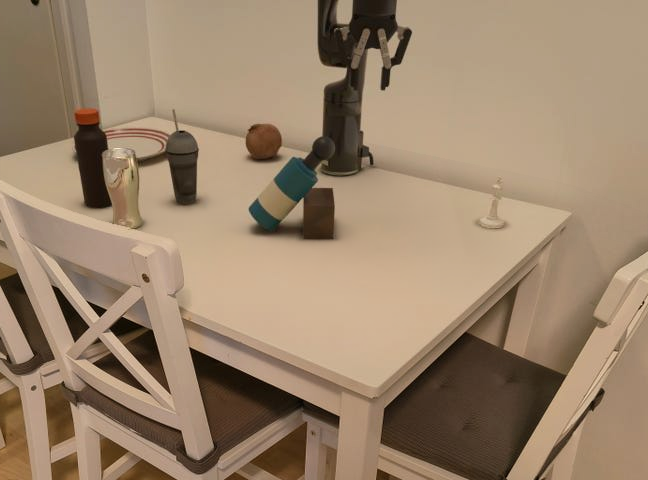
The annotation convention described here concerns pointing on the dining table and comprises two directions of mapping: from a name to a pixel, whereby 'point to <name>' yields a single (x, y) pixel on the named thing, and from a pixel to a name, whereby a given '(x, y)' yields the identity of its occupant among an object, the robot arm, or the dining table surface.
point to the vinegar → (91, 157)
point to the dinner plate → (137, 141)
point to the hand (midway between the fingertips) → (368, 89)
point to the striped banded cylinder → (290, 185)
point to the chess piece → (494, 208)
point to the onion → (263, 141)
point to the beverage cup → (183, 164)
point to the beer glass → (122, 185)
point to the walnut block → (318, 214)
